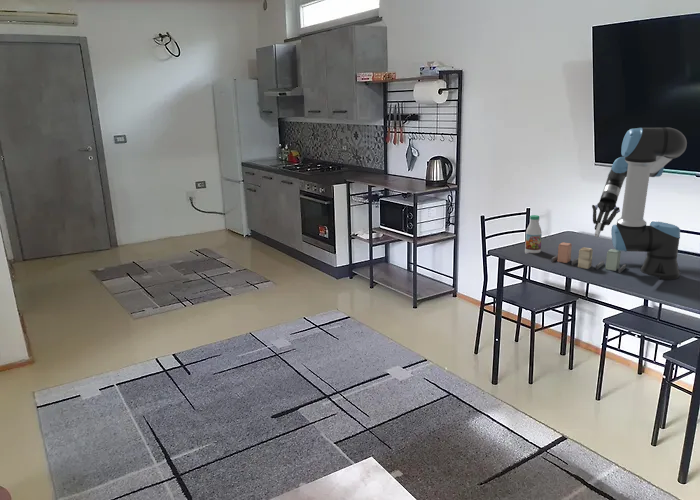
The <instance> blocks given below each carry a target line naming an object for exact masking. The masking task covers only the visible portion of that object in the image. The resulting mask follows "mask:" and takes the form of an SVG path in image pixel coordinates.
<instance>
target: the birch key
mask: <svg viewBox="0 0 700 500" xmlns="http://www.w3.org/2000/svg"><path fill="white" fill-rule="evenodd" d="M593 250H594V249H593V248H590V247H581V248H579V250H578V257H579V258H578V257H577V258H578V262H577V268H581V269H586V270H588V269H590V268H591V267H592V264H593V263H592V262H593Z"/></svg>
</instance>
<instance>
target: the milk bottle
mask: <svg viewBox="0 0 700 500" xmlns="http://www.w3.org/2000/svg"><path fill="white" fill-rule="evenodd" d="M529 221H530V222H529V224H528V226H527V228H526V231H525V241H524V243H525V245H524V253H525V254H526V255H527V254H529V253H530V254H539V253H541V251H542V250H541V249H542V228H541V225H540V215H537V214H536V215H535V214H532V215H530V216H529Z"/></svg>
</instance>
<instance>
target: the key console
mask: <svg viewBox="0 0 700 500" xmlns="http://www.w3.org/2000/svg"><path fill="white" fill-rule="evenodd" d="M578 258H579V256H578V257H577V258H575V259H573V260H572V261H571V266H575V265H576V264H578ZM557 260H558V254H556V255H555V256H553V257H552V258H551V259H550V261H551V263H553V262H555V261H557ZM604 264H605V261H604V260H602V261H600V262H598V264H596V265H595V270H598V269H600V268H601V267H603V266H604ZM626 268H627V264H626V263H625V264H623V265H621V266H619V269H618V270H617V272H618V274H621V273H622V272H623V271H624V270H625V269H626Z"/></svg>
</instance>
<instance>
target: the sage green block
mask: <svg viewBox="0 0 700 500" xmlns="http://www.w3.org/2000/svg"><path fill="white" fill-rule="evenodd" d="M621 254H622V251H618V250H616V249H615V248H610V249H609V250H607V252H606V259H605V270H607V271H608V270H609V271H614V272H616V271H618V269H619V268H620V264H621Z"/></svg>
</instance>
